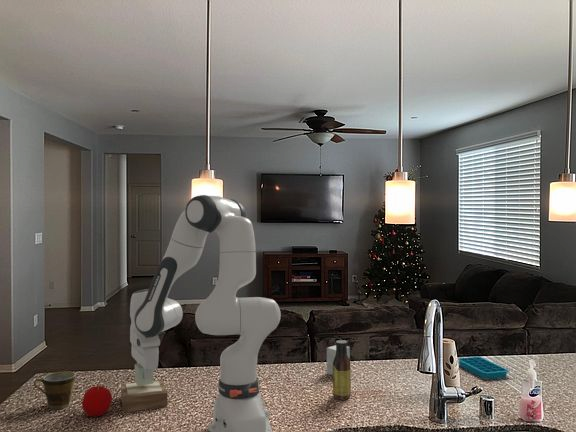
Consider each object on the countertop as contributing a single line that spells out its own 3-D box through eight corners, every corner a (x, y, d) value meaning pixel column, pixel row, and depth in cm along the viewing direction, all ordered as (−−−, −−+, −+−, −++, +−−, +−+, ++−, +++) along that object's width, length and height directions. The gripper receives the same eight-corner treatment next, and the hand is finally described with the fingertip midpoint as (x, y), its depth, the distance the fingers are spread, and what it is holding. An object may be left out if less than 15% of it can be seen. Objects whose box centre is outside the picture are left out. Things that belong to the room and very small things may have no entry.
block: (153, 383, 172) (153, 365, 172) (138, 386, 170) (138, 368, 169) (149, 379, 176) (149, 362, 176) (134, 381, 174) (134, 364, 174)
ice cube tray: (479, 363, 218) (479, 356, 218) (510, 378, 198) (510, 371, 198) (455, 365, 215) (455, 358, 215) (484, 381, 195) (485, 373, 195)
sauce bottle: (336, 392, 182) (336, 337, 181) (353, 395, 179) (353, 339, 179) (329, 399, 176) (330, 342, 175) (346, 402, 173) (347, 344, 173)
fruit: (115, 415, 161) (114, 384, 161) (84, 422, 157) (84, 390, 156) (108, 406, 169) (108, 376, 169) (79, 412, 164) (79, 381, 164)
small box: (339, 369, 208) (339, 343, 208) (350, 372, 204) (350, 346, 204) (326, 373, 203) (326, 347, 203) (336, 376, 199) (336, 350, 199)
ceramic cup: (79, 399, 175) (78, 370, 175) (71, 410, 165) (71, 380, 165) (38, 401, 173) (38, 372, 173) (29, 413, 163) (29, 382, 163)
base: (167, 406, 169) (167, 391, 169) (123, 412, 164) (123, 397, 164) (161, 392, 182) (161, 378, 182) (120, 397, 177) (120, 383, 177)
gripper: (126, 331, 180) (127, 369, 180) (142, 344, 162) (142, 387, 163) (144, 328, 183) (144, 366, 183) (161, 341, 166) (161, 383, 166)
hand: (143, 376), depth 173 cm, fingers closed on block, 5 cm apart
